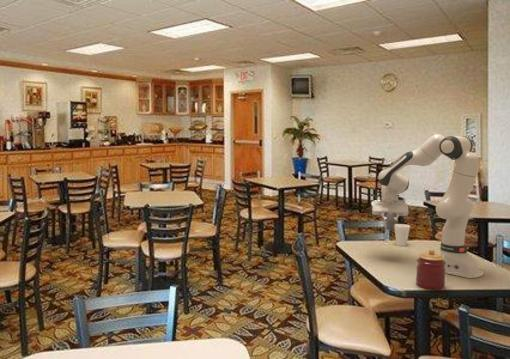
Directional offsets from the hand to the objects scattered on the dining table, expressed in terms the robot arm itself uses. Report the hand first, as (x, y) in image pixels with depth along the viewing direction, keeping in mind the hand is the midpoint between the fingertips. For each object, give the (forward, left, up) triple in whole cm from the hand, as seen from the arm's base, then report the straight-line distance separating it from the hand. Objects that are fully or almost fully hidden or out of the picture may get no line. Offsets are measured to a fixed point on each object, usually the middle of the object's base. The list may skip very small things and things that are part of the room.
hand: (390, 220), depth 247 cm
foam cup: (+18, -36, -24) cm, 47 cm away
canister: (-38, +18, -24) cm, 48 cm away
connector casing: (0, 0, -5) cm, 5 cm away
